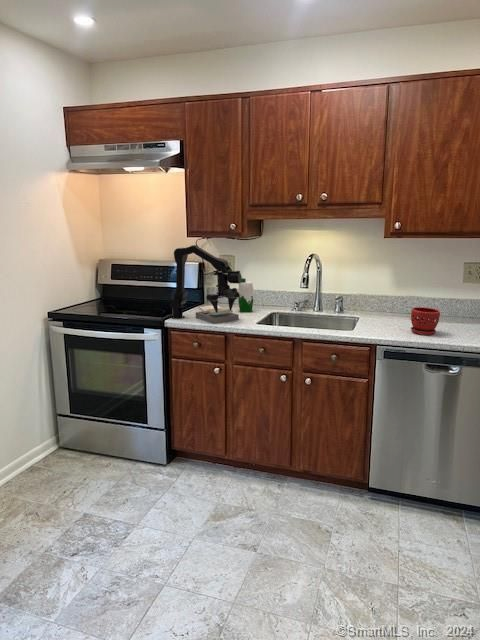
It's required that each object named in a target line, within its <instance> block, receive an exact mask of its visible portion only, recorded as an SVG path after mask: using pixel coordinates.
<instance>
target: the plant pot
mask: <svg viewBox="0 0 480 640" xmlns="http://www.w3.org/2000/svg"><path fill="white" fill-rule="evenodd" d="M410 314H411V315H410V320H411V321H410V322H411V327H410V330H411V332H412V333H413V334H417V335H423V336H429V335H434V334H435V333H436V331H437V330H436V328H437V326H438V324H439V322H440V318H441V317H440V315H441V311H440V310H439V309H435V308H431V307H420V306H418V307H412V308H411V312H410Z"/></svg>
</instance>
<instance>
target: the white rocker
mask: <svg viewBox="0 0 480 640" xmlns="http://www.w3.org/2000/svg"><path fill="white" fill-rule="evenodd" d="M198 309H199V311H200V312H204V313H208V312H209V311H211V310H215V309H214V307H213V305H212V304H211V305H206V306H205V305H204V306H200V307H199V308H198ZM218 309H224V308H223V307H221V306H219V305H218Z"/></svg>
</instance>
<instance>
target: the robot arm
mask: <svg viewBox="0 0 480 640" xmlns="http://www.w3.org/2000/svg"><path fill="white" fill-rule="evenodd" d="M191 254H194V255H196V256H198V257H200V258H201V259H203V260H204V261H206V262H207V263H209V264H211V266H212V267H213V268H214V269H215V272H214V273H213V274H212V275H213V276H217V277H216V279H217V280H216V281H217V284H216V286H215V287H216V288H217V291H216V293H208V294H207V295H206V298H205V299H206V300H207V301H208V302H210V303H211V306H212V305H213V307H214V309H215V311H216V312H218V306H219V305H218V302H219V300H218V299H222V298H227V301H228V309H230V310H233V305H234V303H235V301H236V300H237V299H238V297H240V295H239V292H238V289H237V288H236V287H233V288H230V287H231V286H230V284H239V283H241V281H242V278H243V276H242V274H241V271H240V270H232V268H231V267H230V265H229V262H228V261H227V260H226V259H223V258H220V257H217V256H214V255H213V254H211V253H209V252H208V251H206V250H204V249H203V248H201V247H199V246H198V245H196V244H194V245H190V246H187V247H178V248H176V249H174V251H173V259H174V262H175V264H176V268H175V269H176V270H175V271H176V272H175V273H176V275H175V277H176V279H175V291H174V293H173V296H172V301H171V302H170V303H169V304H168V305H169V308H170V309H171V311H172V312H171V313H172V314H171V316H173V317H174V318H173V319H175V318H177V319H182V317H183V318H185V315H183V307H184V306H185V303H187V300H188V299H189V297H188V295H189V292H188V291H186V289H185V283H186V281H185V279H186V277H185V275H186V263H187V260H188V258H189V257H188V255H191Z"/></svg>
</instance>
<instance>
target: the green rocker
mask: <svg viewBox="0 0 480 640" xmlns="http://www.w3.org/2000/svg"><path fill="white" fill-rule="evenodd" d="M233 311H234V310H233V309H232V310H230V309H229V308H226V307H225V308H223V309H218V312H216V311H215V310H211V311H209V313H210V314H212V315H218V314H225V313H234V312H233Z"/></svg>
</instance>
